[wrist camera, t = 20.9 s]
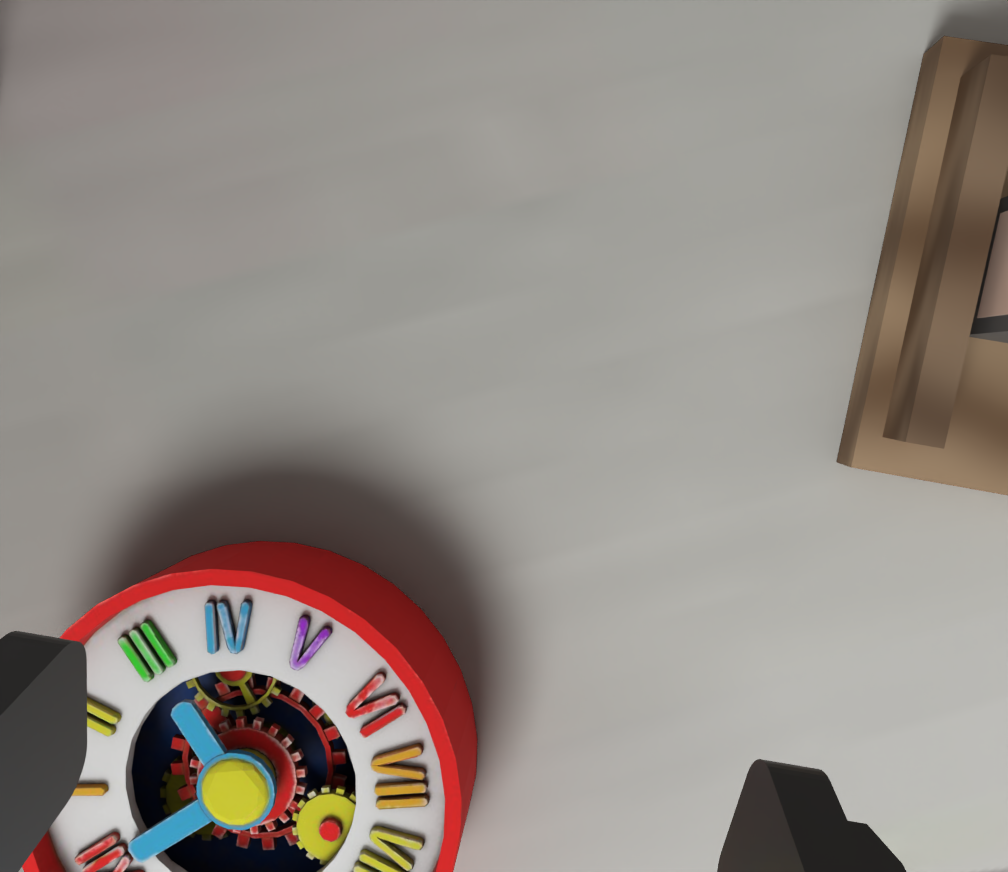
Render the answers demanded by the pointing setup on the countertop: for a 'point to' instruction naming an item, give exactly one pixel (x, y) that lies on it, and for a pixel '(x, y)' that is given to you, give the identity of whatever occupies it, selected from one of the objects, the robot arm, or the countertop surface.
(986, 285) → the dark grey cuboid
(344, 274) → the countertop surface
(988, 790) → the countertop surface
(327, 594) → the toy clock
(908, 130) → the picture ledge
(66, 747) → the robot arm
